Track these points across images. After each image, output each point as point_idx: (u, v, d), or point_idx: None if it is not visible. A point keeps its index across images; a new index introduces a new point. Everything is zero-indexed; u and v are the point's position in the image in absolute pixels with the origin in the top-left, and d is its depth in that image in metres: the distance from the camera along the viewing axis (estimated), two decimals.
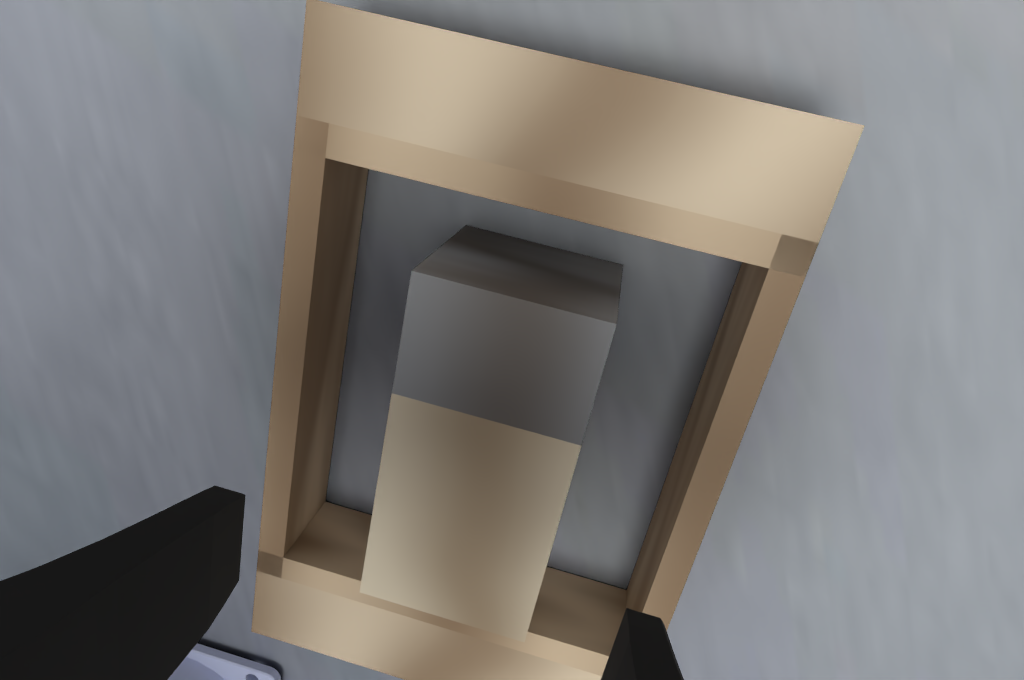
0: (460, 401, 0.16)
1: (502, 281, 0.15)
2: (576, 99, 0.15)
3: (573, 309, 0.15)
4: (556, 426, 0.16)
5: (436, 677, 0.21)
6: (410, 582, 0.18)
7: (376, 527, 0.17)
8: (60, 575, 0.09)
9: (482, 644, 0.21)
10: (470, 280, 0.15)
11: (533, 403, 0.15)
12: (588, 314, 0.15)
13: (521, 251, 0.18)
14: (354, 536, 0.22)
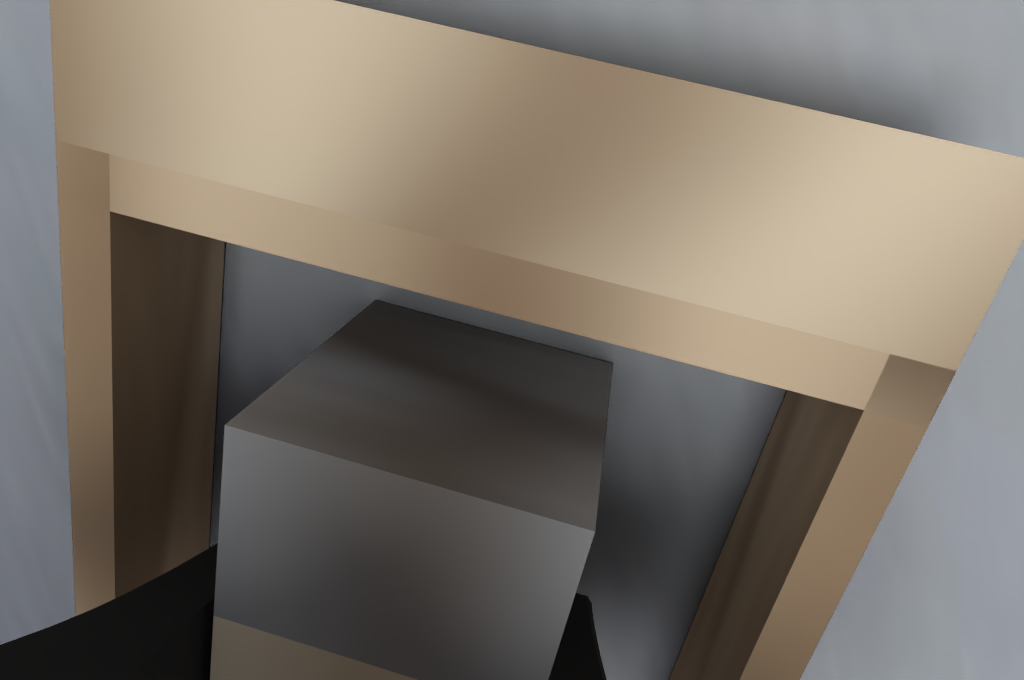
0: (327, 635, 0.09)
1: (396, 432, 0.09)
2: (524, 115, 0.08)
3: (516, 497, 0.08)
4: None
5: None
6: None
7: None
8: (147, 604, 0.09)
9: None
10: (334, 440, 0.08)
11: (451, 647, 0.09)
12: (543, 509, 0.08)
13: (452, 350, 0.11)
14: None
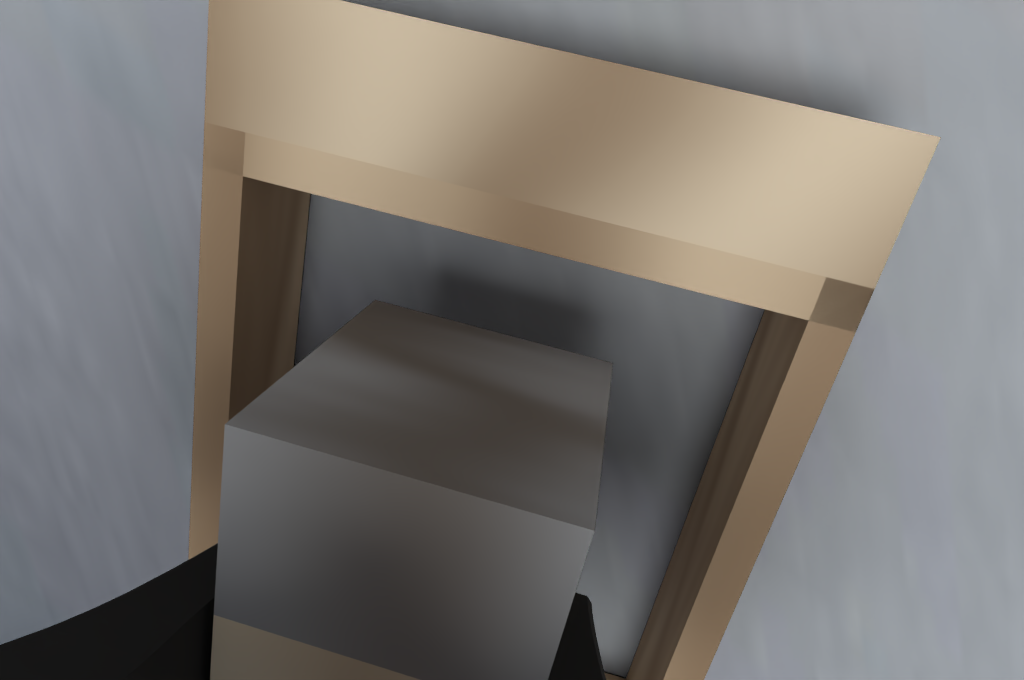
0: (327, 635, 0.09)
1: (396, 432, 0.09)
2: (559, 102, 0.11)
3: (516, 496, 0.08)
4: None
5: None
6: None
7: None
8: (147, 603, 0.09)
9: None
10: (334, 439, 0.08)
11: (451, 646, 0.09)
12: (543, 507, 0.08)
13: (452, 350, 0.12)
14: None
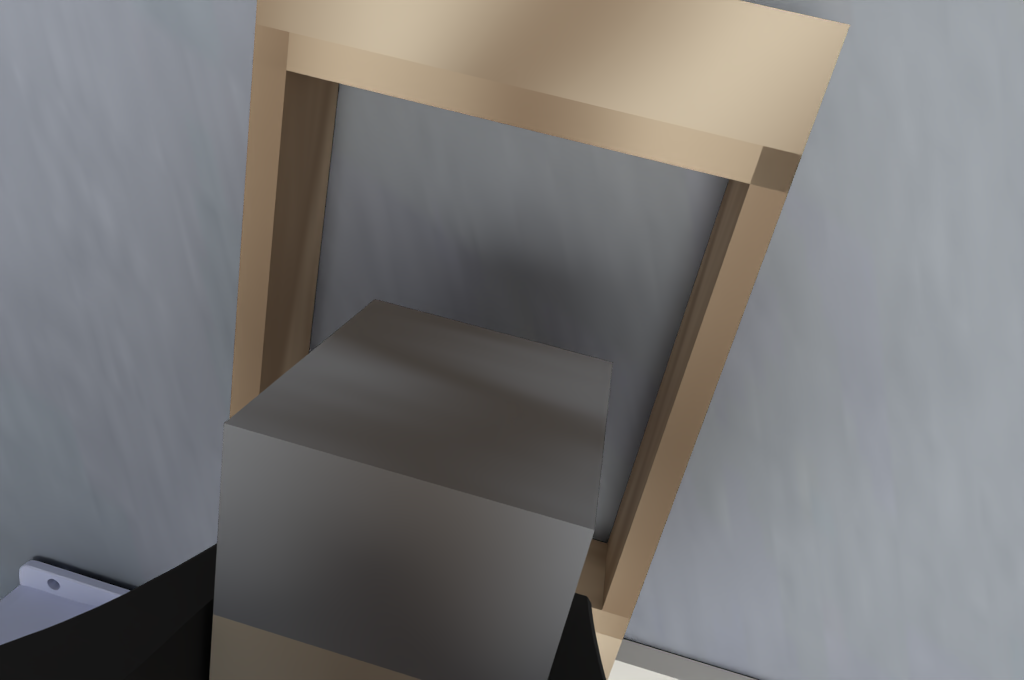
0: (327, 634, 0.09)
1: (396, 431, 0.09)
2: (547, 1, 0.14)
3: (516, 496, 0.08)
4: None
5: None
6: None
7: None
8: (147, 603, 0.09)
9: None
10: (333, 438, 0.08)
11: (450, 646, 0.09)
12: (543, 506, 0.08)
13: (451, 349, 0.11)
14: None
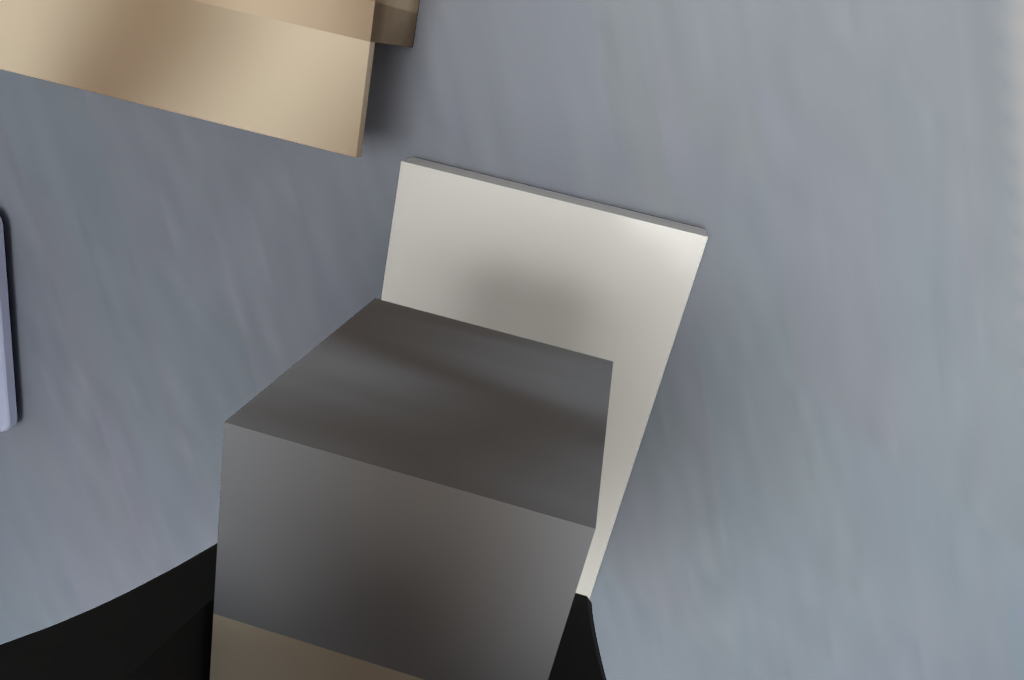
0: (327, 633, 0.09)
1: (396, 430, 0.09)
2: None
3: (516, 494, 0.08)
4: None
5: (117, 76, 0.16)
6: None
7: None
8: (147, 603, 0.09)
9: (163, 2, 0.16)
10: (334, 437, 0.08)
11: (451, 645, 0.09)
12: (543, 505, 0.08)
13: (452, 348, 0.11)
14: None
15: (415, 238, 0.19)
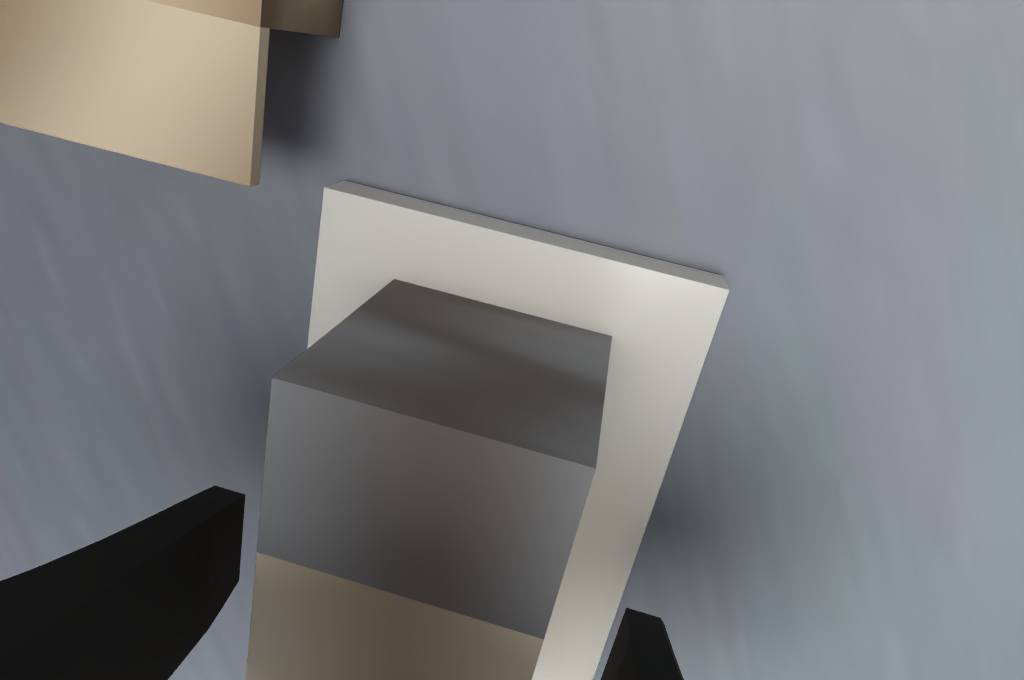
0: (358, 568, 0.10)
1: (420, 387, 0.10)
2: None
3: (526, 440, 0.09)
4: (504, 610, 0.10)
5: None
6: None
7: None
8: (59, 576, 0.09)
9: None
10: (366, 391, 0.10)
11: (468, 577, 0.10)
12: (550, 449, 0.09)
13: (465, 322, 0.13)
14: None
15: (346, 286, 0.14)
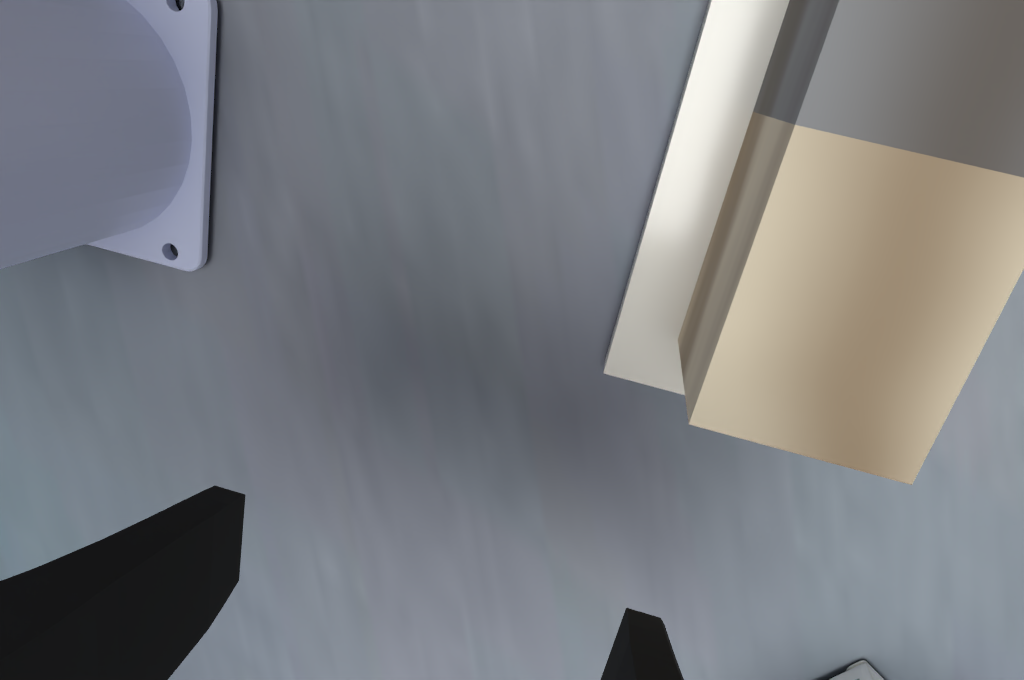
0: (895, 130, 0.12)
1: None
2: None
3: None
4: None
5: None
6: (764, 407, 0.14)
7: (732, 328, 0.13)
8: (60, 575, 0.09)
9: None
10: None
11: (1007, 126, 0.11)
12: None
13: None
14: None
15: None
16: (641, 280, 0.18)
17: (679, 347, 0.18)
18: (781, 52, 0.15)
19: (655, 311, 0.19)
